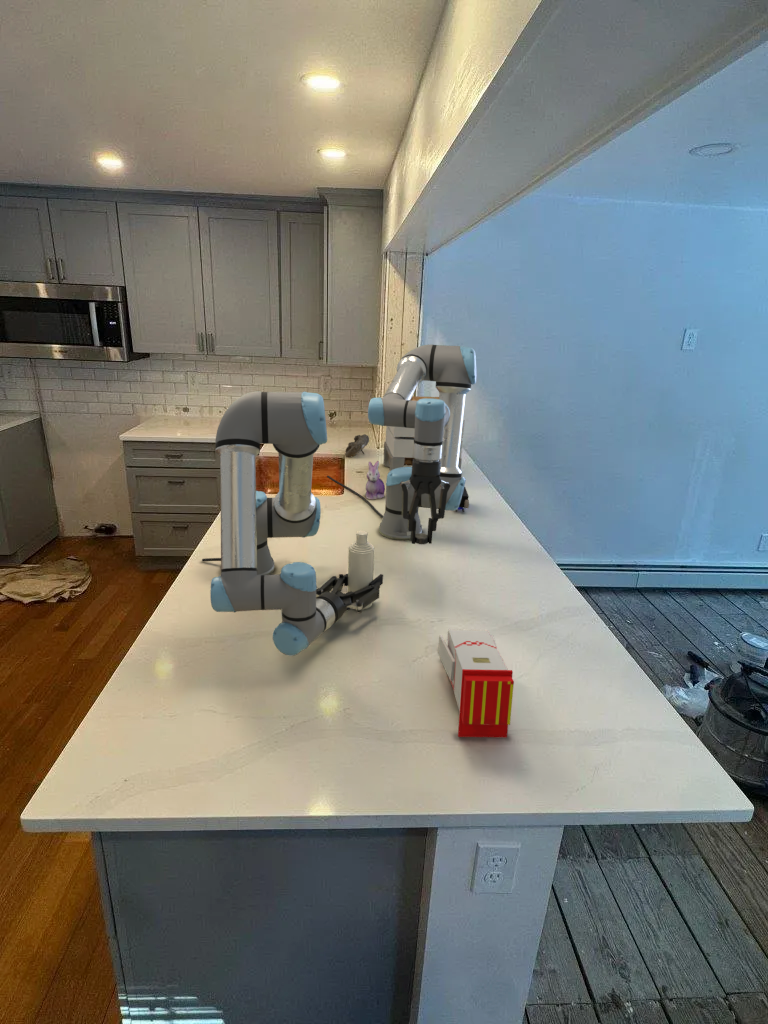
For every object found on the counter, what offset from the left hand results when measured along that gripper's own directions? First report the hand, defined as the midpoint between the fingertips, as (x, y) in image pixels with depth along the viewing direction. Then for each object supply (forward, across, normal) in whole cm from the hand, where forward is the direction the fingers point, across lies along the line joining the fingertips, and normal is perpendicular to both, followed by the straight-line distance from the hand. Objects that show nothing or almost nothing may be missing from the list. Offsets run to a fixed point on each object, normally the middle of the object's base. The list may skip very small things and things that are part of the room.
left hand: (369, 575), depth 154 cm
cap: (+11, +10, +10) cm, 18 cm away
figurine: (+77, -40, -6) cm, 87 cm away
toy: (-26, +38, -6) cm, 46 cm away
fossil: (+137, -82, -6) cm, 160 cm away
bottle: (-5, 0, -6) cm, 8 cm away
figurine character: (+84, -5, -6) cm, 84 cm away
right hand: (+11, +10, +9) cm, 17 cm away
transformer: (+122, -39, -6) cm, 128 cm away
